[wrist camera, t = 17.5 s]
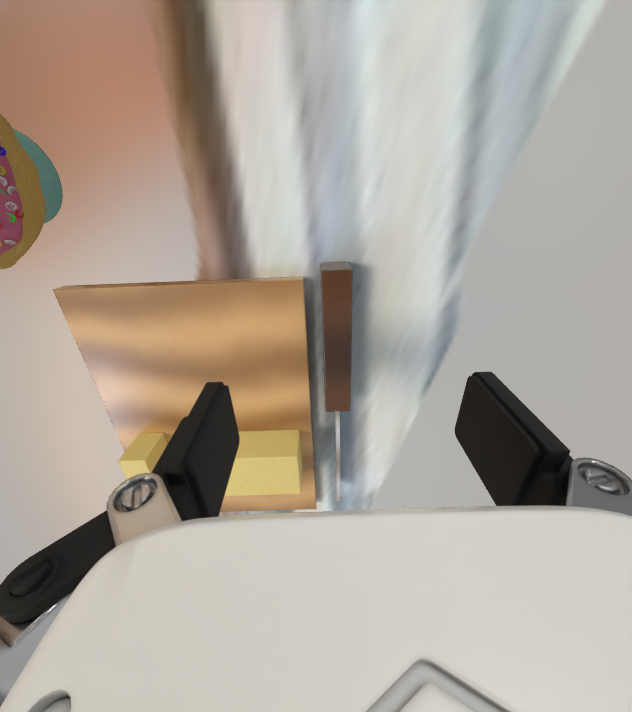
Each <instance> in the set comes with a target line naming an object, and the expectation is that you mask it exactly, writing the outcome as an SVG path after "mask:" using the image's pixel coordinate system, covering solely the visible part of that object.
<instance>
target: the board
mask: <svg viewBox="0 0 632 712" xmlns="http://www.w3.org/2000/svg"><path fill="white" fill-rule="evenodd" d="M53 291H54V294H55V296H56V298H57V300H58V303H59V305H60V307H61V309H62V312H63V314H64V316H65V318H66V320H67V323H68V325H69V327H70V329H71V332H72V334H73V336H74V338H75V341H76V343H77V345H78V347H79V350H80V352H81V354H82V356H83V359H84V361H85V363H86V366H87V368H88V370H89V372H90V375H91V377H92V379H93V381H94V383H95V386H96V388H97V390H98V393H99V395H100V397H101V399H102V401H103V404H104V406H105V408H106V410H107V413H108V415H109V417H110V419H111V422H112V424H113V426H114V428H115V431H116V433H117V435H118V437H119V439H120V442H121V444H122V446H123V448H124V451H125V452H126V450H127V449H128V448H129V446H130V445H131V444H132V442H133V441H134V440H135V439H136V437H137V436H138V435H139V434H140V433H164V436H165V439H166V442H167V444H168V443H169V441H170V439H171V437H172V436H173V434H174V432H175V430H176V429H177V427H178V425H179V423H180V422H181V420H182V419H183V418H184V417H186V416H188V415H189V413H190V411H191V409H192V408H193V406H194V404H195V402H196V400H197V399H198V397H199V395H200V393H201V391H202V390H203V388H204V386H205V384H206V383H207V382H223V384H224V385H228V387H229V391H230V395H231V400H232V404H233V409H234V414H235V418H236V423H237V427H238V431H265V430H296V429H299V431H300V443H301V455H302V481H301V494H279V495H245V496H224V499H223V503H222V506H221V510H220V512H227V511H261V510H296V509H316V486H315V468H314V450H313V432H312V414H311V396H310V379H309V361H308V343H307V325H306V307H305V289H304V277H280V278H255V279H229V280H204V281H180V282H179V281H178V282H153V283H127V284H102V285H79V286H77V285H76V286H63V287H59V288H56V289H54V290H53Z"/></svg>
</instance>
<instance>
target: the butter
mask: <svg viewBox="0 0 632 712" xmlns="http://www.w3.org/2000/svg"><path fill="white" fill-rule="evenodd" d="M238 432H239V437H240V442H239V447H238V451H237V454H236V458H235V461H234V464H233V468H232V471H231V475H230V478H229V482H228V485H227V489H226V492H225V496H245V495H279V494H301V481H302V455H301V443H300V431H299V429H296V430H265V431H238Z"/></svg>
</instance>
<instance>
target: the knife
mask: <svg viewBox="0 0 632 712" xmlns="http://www.w3.org/2000/svg"><path fill="white" fill-rule="evenodd" d="M320 267H321V298H322V329H323V360H324V391H325V411H326V412H333V411H334V430H335V483H336V497H337V502H340V411H350V406H351V343H352V280H353V270H352V268H351V266H350V265H349V263H348V262H330V263H321V264H320Z"/></svg>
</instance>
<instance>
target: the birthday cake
mask: <svg viewBox="0 0 632 712" xmlns="http://www.w3.org/2000/svg"><path fill="white" fill-rule="evenodd" d="M61 203H62V187H61V182H60V179H59V176H58V173H57V171H56V169H55V167H54V166H53V164H52V162H51V161H50V159H49V158H48V156H47V155H46V154H45V153H44V151H43V150H42V149H41V148H40V147H39V146H38V145H37V144H36V143H34V142H33V141H32V140H31V139H29V138H28V137H27V136H25V135H23V134H22V133H20V132H18V131H17V130H15V129H13V128H12V127H11V126H10V124H9V123H8V122H7V120H6V119H5V118H4V117H3V116H1V114H0V269H5V268H9V267H11V266H13V265H14V264H15V263H16V262H17V261H18V260H19V259H20V258H21V257H22V256H23V255H24V254H25V253H26V252H27V251H28V250H29V248H30V247H31V246H32V244H33V243H34V242H35V240H36V239H37V237H38V235H39V233H40V231H41V229H42V226H43V224H44V223H46V222H48V221H50V220H51V219H53V218H54V217H55V216H56V214H57V213H58V211H59V209H60V207H61Z"/></svg>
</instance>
